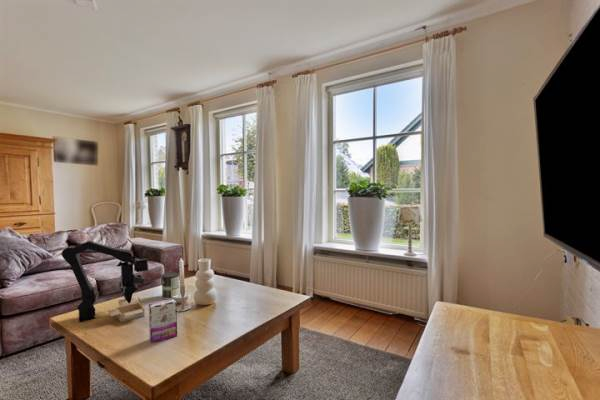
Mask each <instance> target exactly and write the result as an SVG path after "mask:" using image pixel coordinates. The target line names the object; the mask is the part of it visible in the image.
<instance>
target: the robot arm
mask: <svg viewBox="0 0 600 400" xmlns="http://www.w3.org/2000/svg"><path fill="white" fill-rule="evenodd" d="M87 250H90V251H93V252H97V253H101V254H104V255H108V256H111V257H113V258H115V259H116V260H118V261H119V262H118V264H117V265H116V267H120V274H121V275H120V279H121V280H120V281H119V282H118V288H119V290H120V292H121V293H122V296H123V297H124V299H125V300H126V301H127V302H128V303H130V302H131V298H133V294H134V293H135V292H137V291H138V290H139V288H138V285H136V284H139V285H144V284H145V281H146V278H145V277H143V276H142V275H141V274H137V275H136V276H135V274H134V272H136V273H142V272H143V273H144V272H148V271H149V263H148V258H144V259H138V258H136V257H135V255H134V252H133V251H132V250H130V249H126V248H115V247H112V246H108V245H105V244H102V243H98V242H95V241H92V240H87V241H86V242H83V243H80V244H78V245H69V246H67V247H66V248H64V249H62V250H61V251H62V252H61V257H62V258H63V259H64V261H65V262H66V263H68V265H69V267H71V270H72V272H73V275H74V277H75V279H76V281H77V284H78V285H79V288H80V291H81V293H80V294H81V301H80V302H79V304H78V305H77V310H78V317H77V318H78V322H79V323H82V322H86V321H89V320H93V319H96V308H95V305H94V304H95V303H96V301H97V299H98V298H99V294H100V291H99V290H98V287H97V286H92V285H91V283H90V280H89V278H88V276H87V274H86V271H85V269H84V266H83V264H82V262H81V253H82V252H84V251H87Z"/></svg>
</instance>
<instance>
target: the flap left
mask: <svg viewBox="0 0 600 400" xmlns="http://www.w3.org/2000/svg"><path fill="white" fill-rule="evenodd" d="M135 303H137V300H136V297H135V296H134V297H133V296H132V298H131V302H130V303H128V302H127V301H126V300H125V298H124V299H120V300H118V304H119V305H118V306H119V307H121V306H126V305H130V304H135Z"/></svg>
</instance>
